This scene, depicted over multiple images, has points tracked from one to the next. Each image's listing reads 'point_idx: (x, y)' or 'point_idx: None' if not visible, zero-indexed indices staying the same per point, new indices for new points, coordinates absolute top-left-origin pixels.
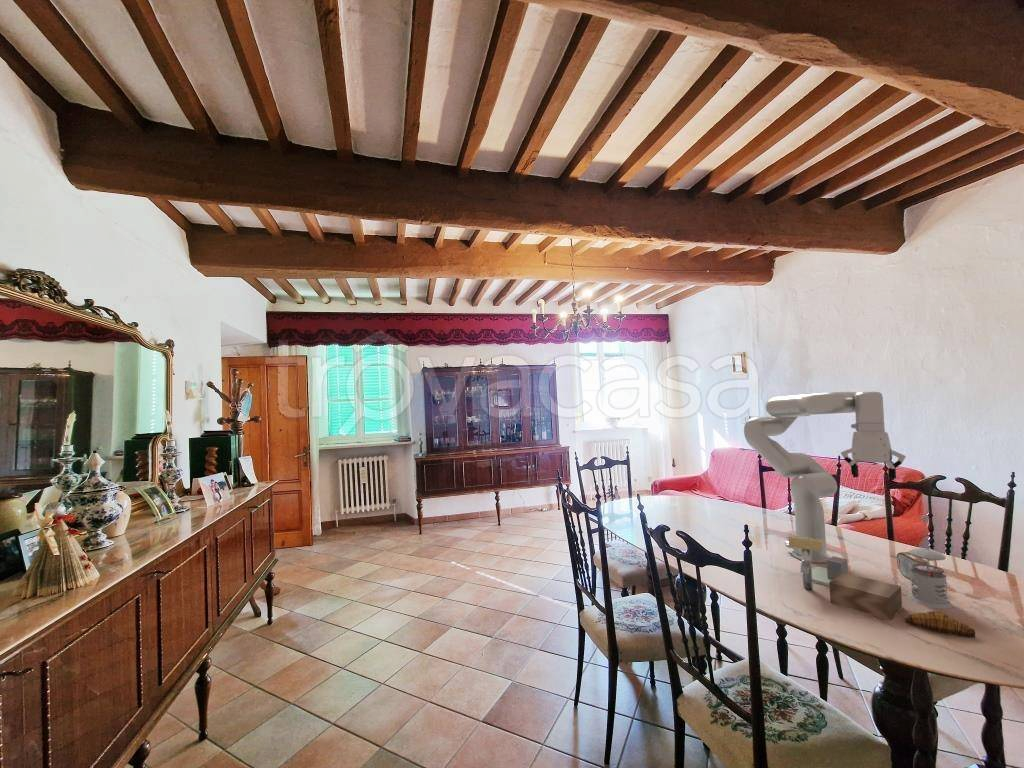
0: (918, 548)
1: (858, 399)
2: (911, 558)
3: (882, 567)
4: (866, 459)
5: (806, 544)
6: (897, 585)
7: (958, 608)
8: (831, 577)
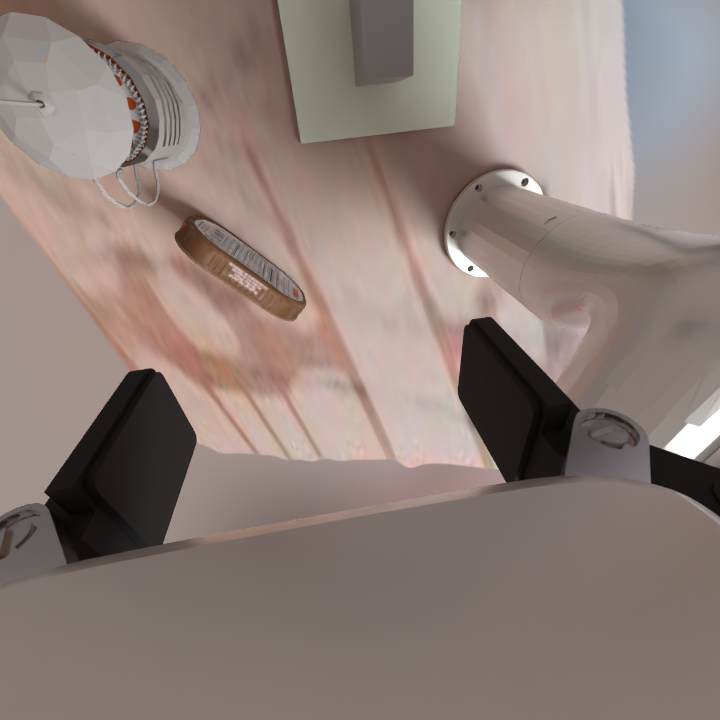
0: (76, 100)
1: None
2: (240, 264)
3: (343, 300)
4: (388, 553)
5: None
6: None
7: None
8: None
